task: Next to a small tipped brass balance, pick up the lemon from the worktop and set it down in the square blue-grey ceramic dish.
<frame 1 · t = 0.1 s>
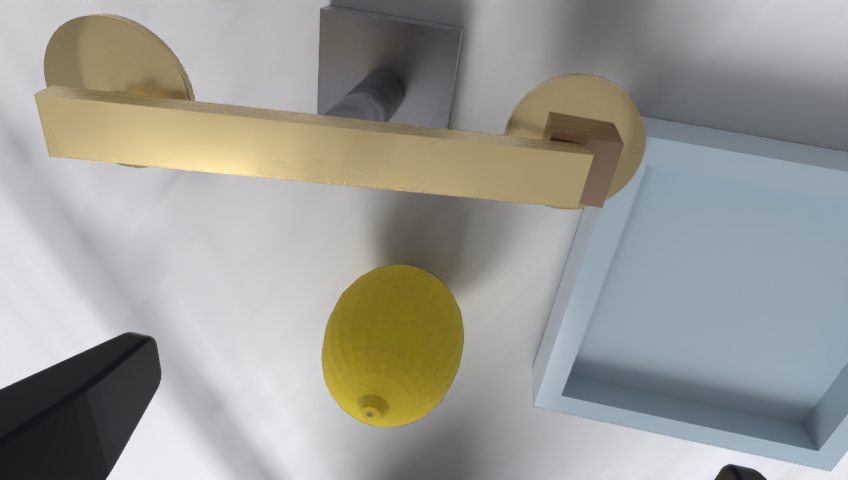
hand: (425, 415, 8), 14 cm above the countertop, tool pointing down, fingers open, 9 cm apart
balance: (389, 85, 20), on the countertop
lemon: (413, 281, 25), on the countertop
dish: (721, 288, 22), on the countertop
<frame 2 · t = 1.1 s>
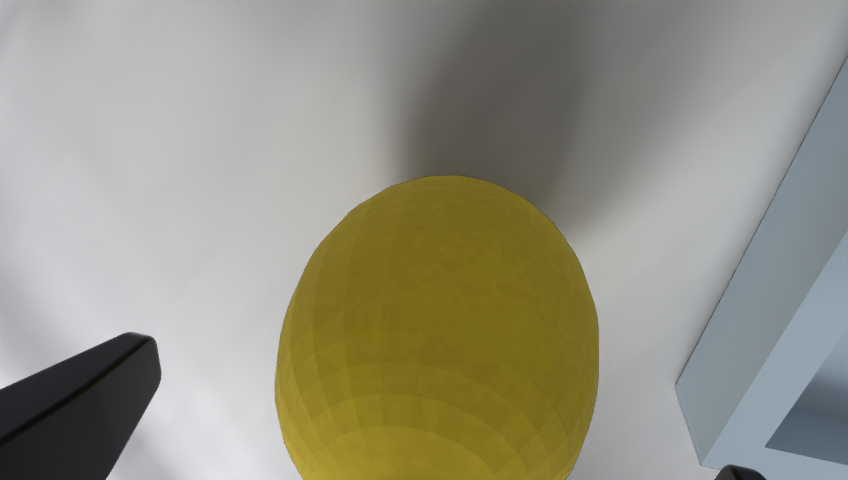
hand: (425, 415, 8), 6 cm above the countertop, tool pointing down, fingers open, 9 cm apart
lemon: (463, 228, 13), on the countertop
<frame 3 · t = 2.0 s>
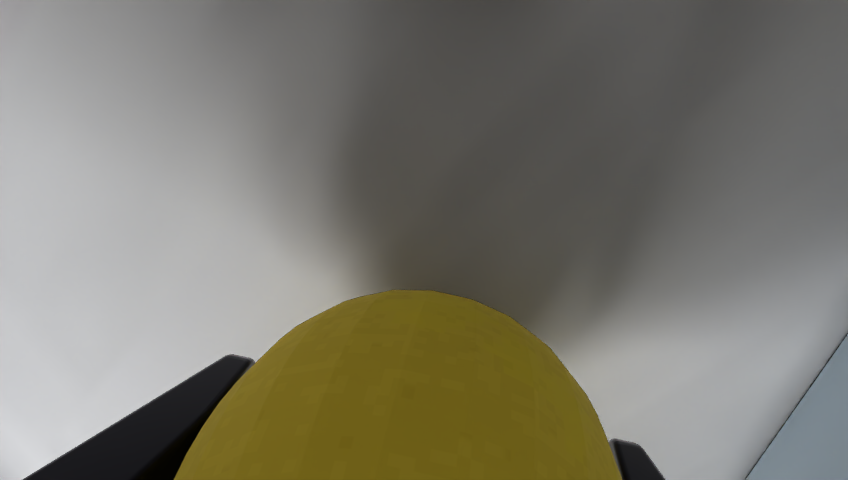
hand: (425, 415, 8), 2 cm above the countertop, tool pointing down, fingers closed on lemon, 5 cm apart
lemon: (443, 325, 10), on the countertop, touching gripper
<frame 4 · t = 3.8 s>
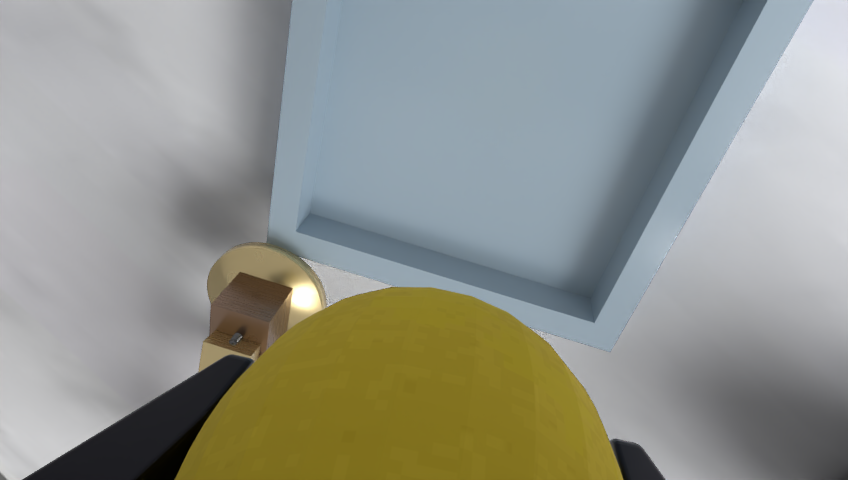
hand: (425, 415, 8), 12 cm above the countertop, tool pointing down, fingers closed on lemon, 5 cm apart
balance: (282, 367, 26), on the countertop
lemon: (441, 323, 10), point 10 cm above the countertop, touching gripper
dish: (495, 109, 18), on the countertop
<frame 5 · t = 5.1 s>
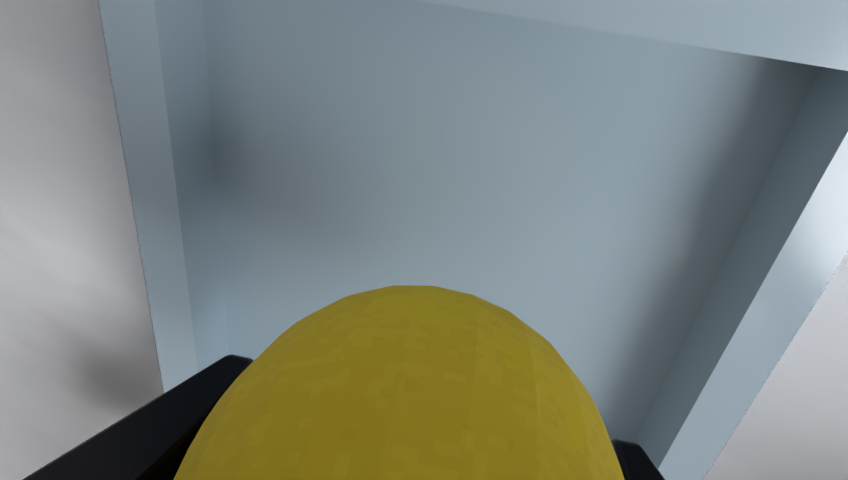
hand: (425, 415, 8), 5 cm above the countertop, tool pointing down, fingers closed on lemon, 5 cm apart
lemon: (441, 322, 10), point 3 cm above the countertop, touching gripper
dish: (454, 243, 13), on the countertop
when the fingers open (4 cm above the countertop, at t = 5.7 s): lemon drops 1 cm, resting on dish.
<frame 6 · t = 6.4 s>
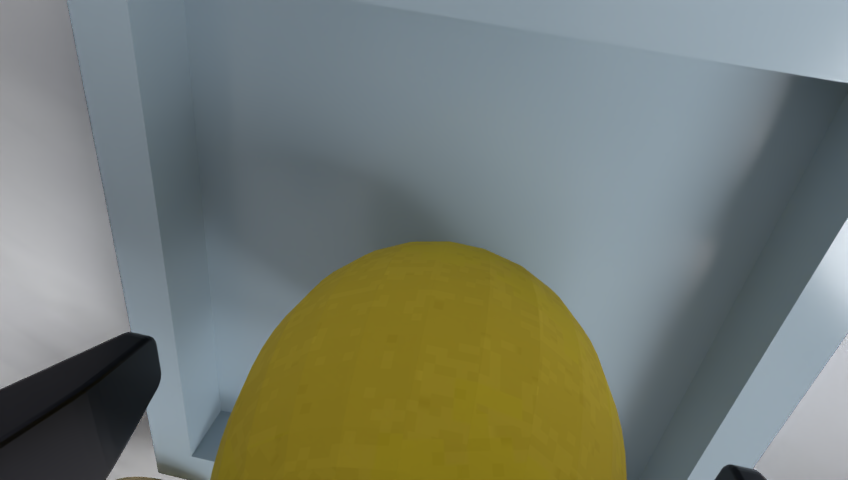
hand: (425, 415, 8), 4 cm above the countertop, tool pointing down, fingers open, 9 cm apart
lemon: (454, 284, 11), point 1 cm above the countertop, touching dish
dish: (455, 264, 12), on the countertop
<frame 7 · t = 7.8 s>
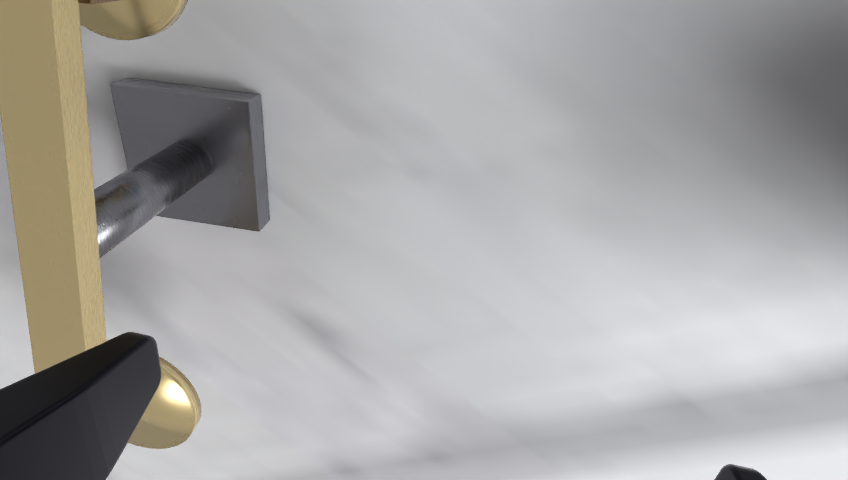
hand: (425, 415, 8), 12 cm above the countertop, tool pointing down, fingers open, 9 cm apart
balance: (202, 152, 20), on the countertop
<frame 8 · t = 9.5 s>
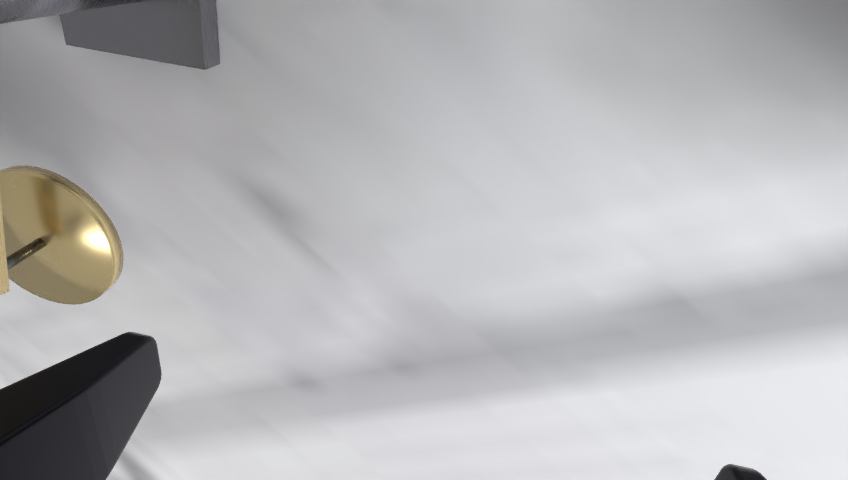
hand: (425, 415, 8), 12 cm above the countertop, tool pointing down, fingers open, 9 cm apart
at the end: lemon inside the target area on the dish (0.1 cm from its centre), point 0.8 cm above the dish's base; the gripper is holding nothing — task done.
